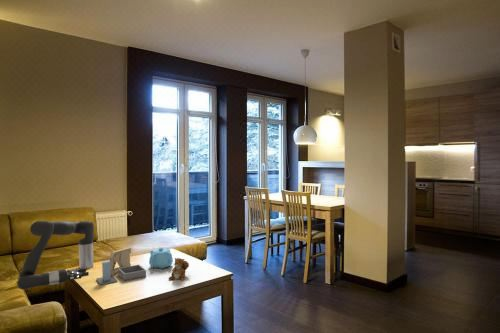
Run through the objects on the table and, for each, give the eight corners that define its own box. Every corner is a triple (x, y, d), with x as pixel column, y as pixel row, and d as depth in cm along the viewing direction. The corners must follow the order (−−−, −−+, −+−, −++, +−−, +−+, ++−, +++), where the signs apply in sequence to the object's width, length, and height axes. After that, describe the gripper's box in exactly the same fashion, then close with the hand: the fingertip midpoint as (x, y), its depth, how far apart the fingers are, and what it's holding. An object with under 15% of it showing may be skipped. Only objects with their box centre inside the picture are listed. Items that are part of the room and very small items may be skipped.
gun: (111, 276, 232) (112, 253, 233) (107, 275, 233) (107, 253, 234) (131, 268, 256) (131, 247, 257) (126, 267, 257) (127, 247, 258)
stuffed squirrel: (167, 280, 223) (167, 259, 222) (177, 273, 236) (177, 254, 236) (181, 281, 220) (181, 260, 220) (191, 274, 234) (190, 254, 234)
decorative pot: (173, 262, 262) (172, 244, 261) (172, 269, 246) (172, 249, 245) (150, 264, 259) (150, 245, 258) (148, 270, 243) (148, 251, 243)
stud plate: (96, 280, 225) (96, 274, 225) (112, 276, 231) (112, 271, 231) (100, 285, 215) (100, 279, 215) (117, 281, 221) (117, 275, 221)
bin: (118, 275, 235) (118, 268, 234) (139, 271, 243) (139, 264, 242) (124, 281, 222) (124, 274, 222) (146, 276, 230) (146, 270, 230)
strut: (102, 279, 224) (102, 261, 224) (109, 277, 226) (108, 260, 226) (104, 280, 220) (103, 262, 220) (110, 279, 223) (110, 261, 223)
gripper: (58, 273, 201) (89, 268, 211) (56, 267, 213) (85, 263, 222) (59, 286, 202) (89, 280, 211) (56, 280, 213) (85, 274, 222)
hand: (87, 271), depth 217 cm, fingers open, 8 cm apart
